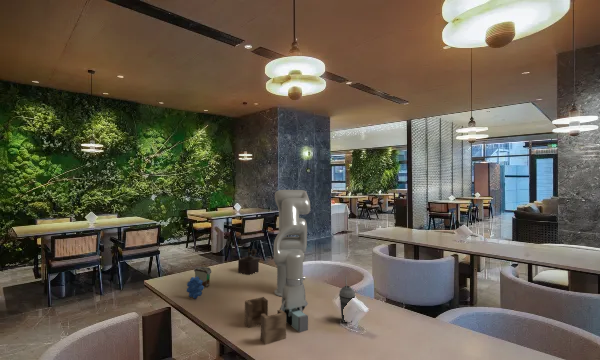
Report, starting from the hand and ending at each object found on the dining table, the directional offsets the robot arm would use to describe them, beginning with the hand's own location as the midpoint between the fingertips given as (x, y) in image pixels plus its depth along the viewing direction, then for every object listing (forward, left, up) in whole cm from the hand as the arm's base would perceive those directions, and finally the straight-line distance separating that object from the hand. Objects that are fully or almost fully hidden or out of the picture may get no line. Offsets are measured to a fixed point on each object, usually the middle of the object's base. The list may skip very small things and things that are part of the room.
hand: (294, 322), depth 139 cm
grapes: (+29, -54, -1) cm, 61 cm away
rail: (0, 0, -1) cm, 1 cm away
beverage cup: (-22, +10, -1) cm, 24 cm away
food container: (+19, -74, -1) cm, 76 cm away
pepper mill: (-15, -83, -1) cm, 84 cm away
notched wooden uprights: (+14, -1, -1) cm, 14 cm away
